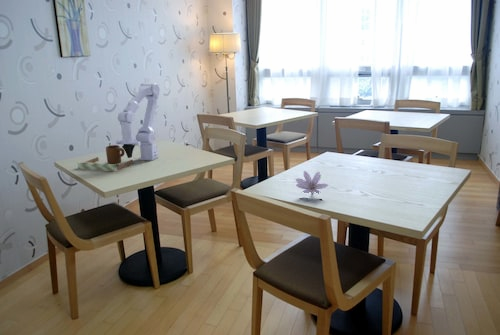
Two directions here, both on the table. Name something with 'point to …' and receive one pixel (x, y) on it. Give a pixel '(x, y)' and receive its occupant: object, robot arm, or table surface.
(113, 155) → the mug
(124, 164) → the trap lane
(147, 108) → the robot arm
